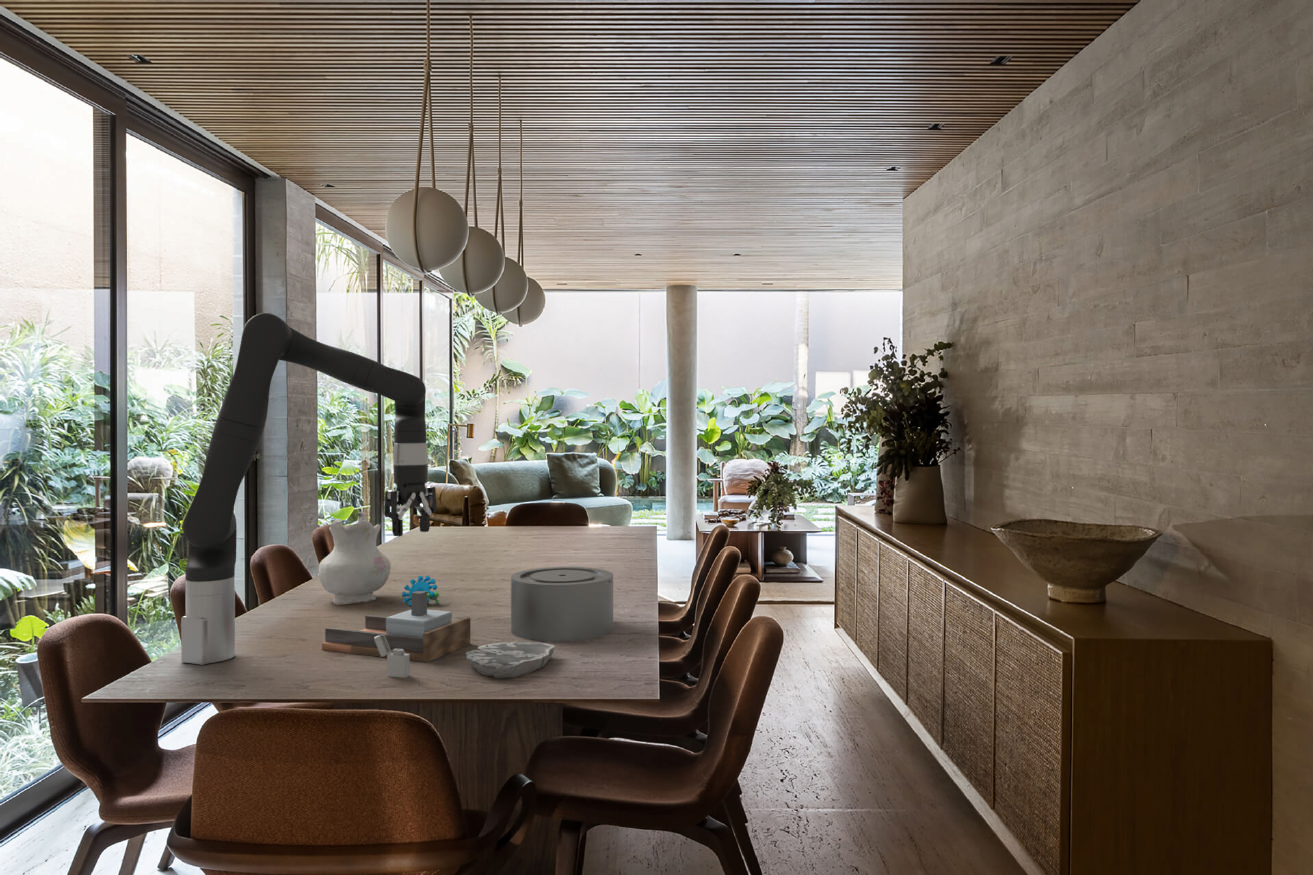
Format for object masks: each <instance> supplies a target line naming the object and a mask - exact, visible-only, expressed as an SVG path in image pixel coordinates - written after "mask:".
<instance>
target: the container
mask: <svg viewBox="0 0 1313 875" xmlns="http://www.w3.org/2000/svg"><path fill="white" fill-rule="evenodd" d="M613 630H614V574H613V572H612V571H609V570H606V569H603V568H602V569H601V568H595V567H586V566H549V567H548V566H547V567H538V568H531V569H526V570H521V571H518V572H517V571H516V572H515V573H513V574H511V576H510V633H511V634H512V635H513V636H515V637H517V638H520V639H524V640H526V641H532V642H543V643H546V642H548V643H551V642H552V643H565V642H566V643H570V642H579V641H586V640H587V641H588V640H592V639H598V638H600V637H603V636H606V635H608V634H610V633H611V632H613Z"/></svg>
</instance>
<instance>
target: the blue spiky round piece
mask: <svg viewBox="0 0 1313 875" xmlns="http://www.w3.org/2000/svg"><path fill="white" fill-rule="evenodd" d="M409 582H410V584H411V587H410V585H409V584H406V585H405V586H404V587H403V588H404V590H405V591H402V592H401V596H402V598H403V600H402V601H403V602H404V604H407V603H408V605H409V607H411V593H413V592H416V591H426V592H427V603H429V602H430V600H431V601H435V603H436V604H440V601H439V599H438V597H440V593H439V591H437V589H438V585H437V584H436V580H435V578H431V577H430V575H428V574H427V575H426V576H425V577H423V575H418V577H417V581H416V580H415V579H414V578H412V579H411V580H410V581H409ZM431 589H433V590H434V591H432V590H431ZM406 591H409V592H408V593H407V592H406Z"/></svg>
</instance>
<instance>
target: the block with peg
mask: <svg viewBox="0 0 1313 875" xmlns="http://www.w3.org/2000/svg"><path fill="white" fill-rule="evenodd" d="M410 601H411V606H410V607H411V609H408V610H406V611H402V612H399V613H396V614H393V615H391V616H385V617H386V634H394V635H404V636H413V637H422V638H423V633H426V632H428V631H431V630H434V629H436V628H439V627H442V626H444V625H447V624H450V623H452V622H453V621H452V618H453V617H452V616H453V613H452V611H448V610H437V609H436V610H435V609H428V602H427V592H426V591H416V592H413V593H411V600H410Z"/></svg>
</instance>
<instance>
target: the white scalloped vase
mask: <svg viewBox="0 0 1313 875" xmlns="http://www.w3.org/2000/svg"><path fill="white" fill-rule="evenodd" d="M356 515H357V521H356V523H353V524H347V525H344V524H343V521H342V519H341V518H340V519H339V518H338V519H335V520H331V521H330V523H331V525H330V526H329V531H330V533H331V536H332V538H333V539H332V540H333V544H334V545H333V549H332V551H331V552H330V553H329V554H327V556H325V557H324V558H323V559H322V560H321V561H320V562H319V565H318V579H319V582H320V583H321V586H322V587H323V588H324V590H325V591H326V592H327V593H328V594H329V593H330V594H333V595H334V598H333V600H332V602H333V605H337V606H339V605H340V606H341V605H349V604H350V605H351V604H355V603H369V602H373V601H375V600H377V599H378V598H377V597H376V596H375V595H374V592H377V591H379V590H381V588H383V587H384V586H385V585H386V583H387V581H388V580H389V577H390V574H391V570H392V569H391V568H392V564H391V560H390V559H389V558H388V556H386V555H385V554H384V553H382V552H381V551H380V550H379V549H378V547H377V537H378V535H379V533H380V530H381V528H382V527H381V523H379V524H376V525H373V524H372V523H371V522H370V521H368V517H367V515H366V513H365V512H363V511H361V510H360V511H359V512H357V513H356Z"/></svg>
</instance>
